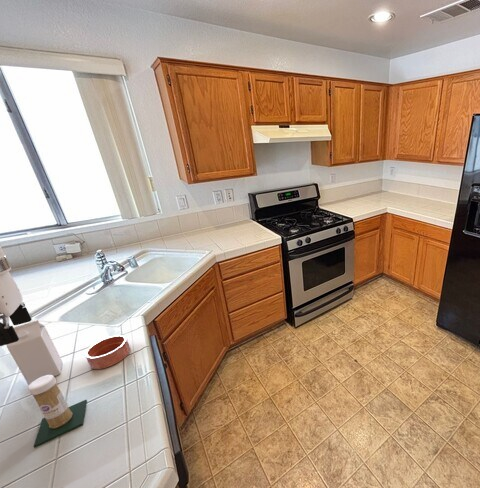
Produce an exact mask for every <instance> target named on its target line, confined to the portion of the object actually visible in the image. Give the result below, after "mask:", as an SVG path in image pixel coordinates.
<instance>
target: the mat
mask: <svg viewBox="0 0 480 488" xmlns="http://www.w3.org/2000/svg"><path fill="white" fill-rule="evenodd" d="M87 402H88V400H87V399H84V400H82V401H78V402H77V403H75V404H72V405H69V406H68V407H69V409H70V411H71V412H72V413H73V415H72V417H71V419H70V420H69V421H68V422H67V423H66V424H64V425H62V426H60V427H58V428H50V427H49V424H48V422H47V420H46V419H45V418H44V417H43V418H42V419H41V422H40V424H39V428H38V431H37V434H36V437H35V440H34V444H33V448H34V449H35V448H38V447H40V446H42V445H44V444H46V443H48V442H50V441H52V440H55V439H57V438H59V437H61V436H63V435H65V434H66V433H70V432H71V431H74V430H75V429H78V428H80V427H82V426H84V422H85V415H86V410H87Z"/></svg>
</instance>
